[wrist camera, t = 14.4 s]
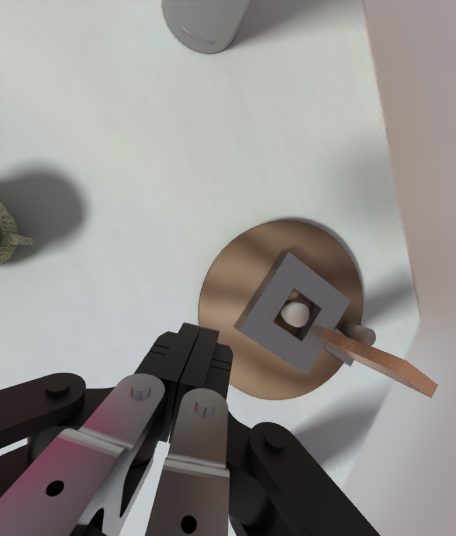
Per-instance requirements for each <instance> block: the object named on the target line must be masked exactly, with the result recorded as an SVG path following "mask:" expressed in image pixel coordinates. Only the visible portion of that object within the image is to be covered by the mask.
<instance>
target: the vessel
mask: <svg viewBox="0 0 456 536" xmlns="http://www.w3.org/2000/svg"><path fill="white" fill-rule="evenodd" d="M33 243H34V240H33V239H32V238H29V237H25V236H21V235H19V228H18V226H17V223H16V221H15V219H14V218H13V217H12V215H11V214H10V213H9V211H8V210H7V209H6V208H5V207H4V205H3V204H2V203H1V202H0V266H1V265H2V264H4V263H5V262H6V261H7V260H8V259H10V258H11V257H12V256H13V254H14V253H15V251H16V250H17V247H18V245H32V244H33Z"/></svg>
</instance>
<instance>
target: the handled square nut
mask: <svg viewBox="0 0 456 536" xmlns="http://www.w3.org/2000/svg"><path fill="white" fill-rule="evenodd" d="M292 290H293V291H294V292H295V293H297V294H298V295H299V296H301V297H302V298H303V299H305V300H306V301H307V302H309V303H310V304H311V305H313V307H312V309H311V310H310V312H309V319H308V321H307V323H306V324H305V325H303V326H301V327H300V328H299V330H298V332H297V333H296V335H295V337H294V336H293V335H291V334H290V333H289V332H287V331H286V330H284V329H283V328H281V327H280V326H278V325H277V324H276V323H274V322H273V321H274V319H275V318H276V316H277V314H278V313H279V311H280V310H281V308H282V306H283V305H284V303H285V302H286V300H287V298H288V297H289V295H290V293H291V292H292ZM349 303H350V300H349V299H348V298H347V297H345V296H344V295H343V294H342V293H340V292H339V291H338V290H337V289H335V288H334V287H333V286H331V285H330V284H329V283H328V282H326V281H325V280H324V279H323V278H321V277H320V276H319V275H318V274H316V273H315V272H314V271H313V270H311V269H310V268H309V267H308V266H306V265H305V264H304V263H303V262H301V261H300V260H299V259H298V258H296V257H295V256H294V255H293V254H291V253H290V252H281V253H280V254H279V256H278V258H277V259H276V261H275V262H274V264H273V265H272V267H271V269H270V270H269V272H268V273H267V275H266V276H265V278H264V279H263V281H262V283H261V284H260V286H259V287H258V289H257V290H256V292H255V294H254V295H253V297H252V298H251V300H250V301H249V303H248V304H247V306H246V308H245V309H244V311H243V312H242V314H241V315H240V317H239V318H238V320H237V322H236V323H235V325H234V326H233V327H234V328H235V329H237V330H238V331H239V332H241V333H242V334H244V335H246V336H247V337H249V338H250V339H252V340H253V341H255V342H256V343H258V344H259V345H261V346H262V347H264V348H266V349H267V350H269V351H270V352H272V353H273V354H275V355H276V356H278V357H279V358H281V359H282V360H284V361H286V362H287V363H289V364H290V365H292V366H293V367H295V368H296V369H298V370H299V371H301V372H302V373H304V374H305V375H307V374H308V373H309V371H310V369H311V368H312V366H313V364H314V362H315V361H316V359H317V357H318V356H319V354H320V352H321V351H322V349H324V350H326V351H327V352H328V353H330V354H331V355H333V356H334V357H336V358H337V359H338V360H340V361H341V362H343V363H345V364H347V365H349V366H351V365H352V363H353V361H354V360H355V361H357V362H359V363H361V364H363V365H366V366H368V367H370V368H372V369H374V370H376V371H378V372H380V373H382V374H384V375H386V376H388V377H390V378H392V379H394V380H396V381H398V382H400V383H402V384H404V385H406V386H408V387H410V388H412V389H414V390H416V391H418V392H420V393H423V394H424V395H427V396H429V397H431V398H432V395H433V394H434V392H435V390H436V388H437V386H438V385H437V384H436V383H435V382H433V381H432V380H431V379H430V378H428V377H427V376H426V375H424V374H423V373H421V372H420V371H419V370H418V369H417V368H415V367H414V366H413V365H411V364H410V363H409V362H407V361H406V360H404V359H401V358H399V357H396V356H394V355H391V354H389V353H386V352H384V351H381V350H379V349H376V348H374V347H371V346H369V345H366V344H364V343H361V342H359V341H356V340H354V339H351V338H349V337H347V336H346V335H344V334H343V333H342V332H340V331H339V330H337V329H336V328H335V327H336V325H337V323H338V322H339V320H340V318H341V317H342V315H343V313H344V312H345V310H346V308H347V306H348V305H349Z"/></svg>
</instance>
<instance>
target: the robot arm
mask: <svg viewBox="0 0 456 536" xmlns="http://www.w3.org/2000/svg"><path fill="white" fill-rule="evenodd" d="M251 1H252V0H162V9H163V14H164V17H165V20H166V22H167V25H168V27H169V28H170V30H171V32H172V33H173V34H174V35H175V37H176V38H177V39H178V40H179V41H180V42H181V43H183V44H184V45H185V46H187V47H188V48H190V49H192V50H194V51H197V52H200V53H208V54H210V53H217V52H219V51H222V50H224V49H225V48H226V47H228V46H229V45H230V43H231V42H232V41H233V39H234V37H235V35H236V33H237V31H238V29H239V27H240V25H241V22H242V20H243V18H244V16H245V14H246V12H247V10H248V8H249V6H250V4H251ZM219 333H220V331H218V330H214V329H210V328H205V327H202V329H201V326H197V325H193V324H189V323H185V322H184V323H183V325H182V326H181V328H180V330H179V332H178V333H173V332H169V331H168V332H166V333H164V334H162V335H161V336H159V337H158V338H157V340H156V341H155V343H154V345H153V346H152V347H151V349H150V350H149V352H148V353H147V355H146V356H145V358H144V359H143V361H142V362H141V364H140V365H139V367H138V368H137V370H136V371H135V373H134V374H133V375H130V376H127V377H126V378H124V379H122V380H121V381H120V382H119V383H118V385H117V386H116V387H112V388H103V389H86V384H85V381H84V380H83V379H82V378H81V377H80V376H78V375H76V374H72V373H56V374H51V375H48V376H44V377H41V378H38V379H35V380H31V381H28V382H25V383H21V384H18V385H15V386H12V387H8V388H5V389H2V390H0V449H1V448H3V447H6V446H8V445H10V444H13V443H15V442H18V441H20V440H22V439H25V438H27V444H26V445H24V446H22V447H19V448H17V449H15V450H13V451H10V452H8V453H6V454H3V455H1V456H0V536H119V534H120V532H121V529H122V527H123V525H124V523H125V521H126V518H127V516H128V514H129V512H130V510H131V508H132V506H133V504H134V502H135V500H136V498H137V495H138V493H139V491H140V489H141V487H142V485H143V483H144V481H145V479H146V477H147V474H148V472H149V470H150V468H151V466H152V463H153V458H154V452H155V448H156V446H157V443H158V441H163V442H167V440H168V437H169V434H170V438H169V443H170V448H169V452H168V455H167V457H166V458H165V462H164V465H163V469H162V473H161V476H160V480H159V484H158V488H157V492H156V495H155V499H154V503H153V507H152V511H151V514H150V518H149V522H148V526H147V530H146V533H145V536H228V514H229V519H230V523H231V525H232V527H233V529H234V531H235V533H236V535H237V536H380V535H379V533H378V532H377V531H376V530H375V529H374V528H373V527H372V526H371V524H370V523H369V522H368V521H367V520H366V519H365V517H364V516H363V515H362V514H361V513H360V511H359V510H358V509H357V508H356V507H355V506H354V505H353V503H352V502H351V501H350V500H349V499H348V498H347V496H345V494H344V493H343V492H342V491H341V490H340V488H339V487H338V486H337V485H336V484H335V483H334V481H333V480H332V479H331V478H330V477H329V476H328V475H327V473H326V472H325V471H324V470H323V469H322V468H321V466H320V465H319V464H318V463H317V462H316V461H315V460H314V458H313V457H312V456H311V455H310V454H309V453H308V451H307V450H306V449H305V448H304V447H303V446H302V445H301V443H300V442H299V441H298V440H297V439H296V438H295V436H294V435H293V434H292V433H291V432H290V431H288V430H287V429H286V428H284V427H283V426H281V425H278V424H276V423H271V422H262V423H259V424H257V425H255V426H254V427H253V428H252V429H251V428H249V427H247V426H245V425H244V424H242V423H240V422H239V421H237V420H236V419H235V418H234V417H233V416H232V415H231V413H230V412H229V410H228V405H227V402H226V398H227V392H228V386H229V380H230V374H231V367H232V361H233V355H234V354H233V352H232V350H231V348H230V346H228V345H223V344H219V343H217V342H218V338H219Z"/></svg>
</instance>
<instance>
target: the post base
mask: <svg viewBox="0 0 456 536" xmlns="http://www.w3.org/2000/svg"><path fill="white" fill-rule="evenodd" d="M281 252H290V253H291V254H293V255H294V256H295V257H296V258H298V259H299V260H300V261H301V262H303V263H304V264H305V265H306V266H308V267H309V268H310V269H311V270H313V271H314V272H315V273H316V274H318V275H319V276H320V277H321V278H323V279H324V280H325V281H326V282H328V283H329V284H330V285H331V286H333V287H334V288H335V289H337V290H338V291H339V292H340V293H342V294H343V295H344V296H345V297H347V298H348V299H349V300H350V303H349V305H348V306H347V308H346V310H345V312H344V313H343V315H342V317H341V318H340V320H339V322H338V323H337V325H336V327H335V328H336V329H337V330H339V331H340V332H342V333H343V334H344V335H346V336H347V337H349V338H351V339H354V340H356V341H359V342H361V343H364V344H366V345H369V346H372V345H373V344H374V342H375V339H376V335H375V332H374V331H373V330H372V329H369V328H366V327H363V326H360V325H361V319H362V309H363V299H362V289H361V284H360V279H359V276H358V273H357V270H356V268H355V266H354V263H353V261H352V260H351V258H350V256H349V254H348V253H347V252H346V250H345V249H344V248H343V246H342V245H341V244H340V243H339V242H338V241H337V240H336V239H335V238H334V237H332V236H331V235H330V234H328V233H327V232H325V231H324V230H322V229H320V228H318V227H316V226H313V225H310V224H308V223H303V222H298V221H276V222H271V223H267V224H263V225H259V226H257V227H254V228H251V229H249V230H247V231H246V232H244V233H242V234H240V235H239V236H238V237H236V238H235V239H234V240H232V241H231V242H230V243H229V244H228V245H227V246H226V247H225V248H224V249H223V250H222V251H221V252H220V254H219V255H218V256H217V258H216V259H215V260H214V262H213V264H212V265H211V267H210V269H209V270H208V273H207V275H206V277H205V280H204V282H203V286H202V289H201V293H200V299H199V305H198V322H199V326H201V329H202V327H205V328H210V329H214V330H218V331H220V333H219V338H218V342H217V343H219V344H223V345H228V346H230V348H231V350H232V352H233V354H234V355H233V361H232V367H231V374H230V380H229V383H230V384H231V385H232V386H234V387H235V388H237V389H238V390H240V391H242V392H244V393H246V394H248V395H250V396H253V397H257V398H260V399H266V400H285V399H292V398H295V397H299V396H302V395H304V394H307V393H309V392H311V391H313V390H315V389H316V388H318V387H320V386H321V385H322V384H324V383H325V382H326V381H328V380H329V379H330V378H331V377H332V376H333V375H334V374H335V373H336V372H337V371H338V370H339V368H340V367H341V366H342V365H343V362H341V361H340V360H338V359H337V358H336V357H334V356H333V355H331V354H330V353H328V352H327V351H326V350H324V349H322V351H321V352H320V354H319V356H318V357H317V359H316V361H315V362H314V364H313V366H312V368H311V369H310V371H309V373H308V374H307V375H305V374H304V373H302V372H301V371H299V370H298V369H296V368H295V367H293V366H292V365H290V364H289V363H287V362H286V361H284V360H282V359H281V358H279V357H278V356H276V355H275V354H273V353H272V352H270V351H269V350H267V349H266V348H264V347H262V346H261V345H259V344H258V343H256V342H255V341H253V340H252V339H250V338H249V337H247V336H246V335H244V334H242V333H241V332H239V331H238V330H237V329H235V328H234V327H233V326H234V325H235V323H236V322H237V320H238V318H239V317H240V315H241V314H242V312H243V311H244V309H245V308H246V306H247V304H248V303H249V301H250V300H251V298H252V297H253V295H254V294H255V292H256V290H257V289H258V287H259V286H260V284H261V283H262V281H263V279H264V278H265V276H266V275H267V273H268V272H269V270H270V269H271V267H272V265H273V264H274V262H275V261H276V259H277V258H278V256H279V254H280V253H281ZM312 307H313V305H311V304H310V303H309V302H307V301H306V300H305V299H303V298H302V297H301V296H299V295H298V294H297V293H295V292H294V291H293V290H292V292H291V293H290V295H289V297H288V298H287V300H286V302H285V303H284V305H283V306H282V308H281V310H280V311H279V313H278V314H277V316H276V318H275V319H274V321H273V322H274V323H276V324H277V325H278V326H280V327H281V328H283V329H284V330H286V331H287V332H289V333H290V334H291V335H293V336H294V337H295V335H296V333H297V332H298V330H299V328H300V327H301V326H303V325H305V324H306V323H307V321H308V319H309V312H310V310H311V309H312Z"/></svg>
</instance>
